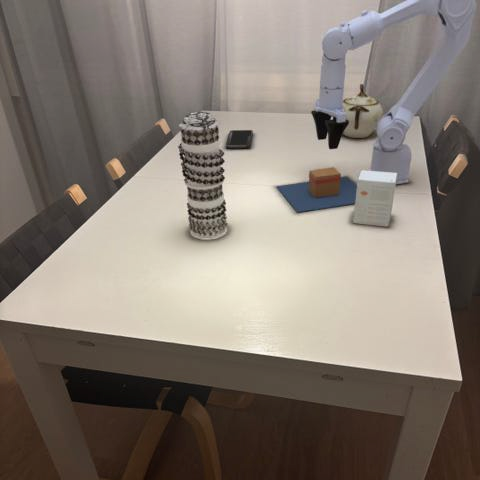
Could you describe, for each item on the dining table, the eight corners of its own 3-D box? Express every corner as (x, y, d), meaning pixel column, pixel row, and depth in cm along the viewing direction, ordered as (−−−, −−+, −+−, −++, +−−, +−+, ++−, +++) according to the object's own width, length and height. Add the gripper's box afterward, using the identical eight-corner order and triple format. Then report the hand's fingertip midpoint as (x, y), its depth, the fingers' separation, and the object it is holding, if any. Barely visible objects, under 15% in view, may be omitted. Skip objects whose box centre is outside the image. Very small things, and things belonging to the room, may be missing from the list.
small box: (390, 216, 110) (398, 172, 103) (388, 227, 105) (396, 182, 99) (355, 212, 112) (361, 169, 105) (352, 223, 108) (357, 178, 101)
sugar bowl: (337, 124, 165) (341, 76, 155) (381, 126, 161) (388, 78, 152) (330, 142, 150) (334, 91, 141) (378, 145, 147) (385, 93, 137)
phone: (225, 145, 148) (230, 130, 160) (225, 148, 149) (230, 133, 161) (250, 145, 148) (253, 129, 159) (250, 148, 148) (253, 133, 160)
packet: (332, 187, 123) (333, 166, 119) (339, 194, 119) (341, 173, 116) (308, 191, 122) (309, 170, 118) (314, 198, 118) (316, 177, 115)
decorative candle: (183, 226, 109) (168, 113, 94) (220, 218, 112) (212, 106, 96) (195, 244, 103) (182, 125, 87) (235, 234, 105) (229, 117, 90)
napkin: (346, 177, 128) (346, 176, 128) (374, 201, 116) (374, 200, 116) (276, 187, 125) (276, 186, 125) (297, 213, 113) (297, 211, 113)
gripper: (305, 81, 118) (303, 137, 127) (328, 95, 107) (323, 155, 116) (331, 79, 120) (327, 133, 128) (356, 92, 109) (350, 151, 117)
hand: (327, 143), depth 122 cm, fingers open, 7 cm apart
